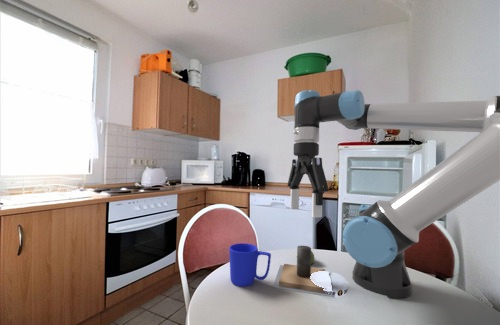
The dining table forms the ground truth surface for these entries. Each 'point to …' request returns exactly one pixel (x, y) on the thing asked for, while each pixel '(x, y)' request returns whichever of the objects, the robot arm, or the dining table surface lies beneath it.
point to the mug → (245, 264)
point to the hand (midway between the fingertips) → (304, 212)
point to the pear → (312, 257)
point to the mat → (276, 285)
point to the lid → (300, 272)
